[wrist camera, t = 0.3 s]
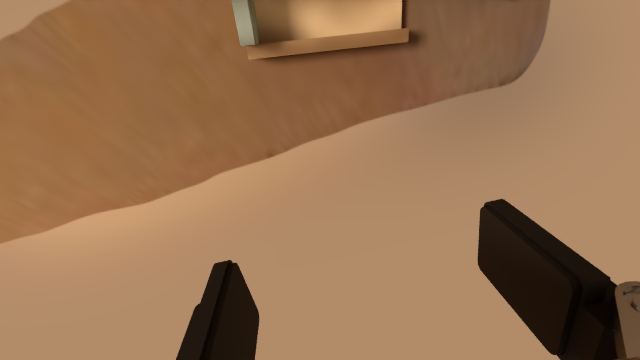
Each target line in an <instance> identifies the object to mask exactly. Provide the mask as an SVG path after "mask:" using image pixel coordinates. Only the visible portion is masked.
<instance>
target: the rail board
mask: <svg viewBox="0 0 640 360" xmlns="http://www.w3.org/2000/svg"><path fill="white" fill-rule="evenodd" d="M232 5H233V10H234V15H235V20H236V25H237V30H238V35H239V40H240V45H241V46H246V49H247V54H248V59H258V58H267V57H276V56H285V55H294V54H303V53H312V52H322V51H331V50H340V49H349V48H358V47H367V46H376V45H385V44H394V43H403V42H408V35H409V28H403V29H401V21H402V0H232Z"/></svg>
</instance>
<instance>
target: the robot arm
mask: <svg viewBox="0 0 640 360" xmlns="http://www.w3.org/2000/svg"><path fill="white" fill-rule="evenodd" d="M479 226H480V227H479V246H478V265H479V268H480V270H481V271H482V272H483V274H484V275H485V276H486V277H487V278H488V280H489V281H490V282H491V283H492V284H493V286H494V287H495V288H496V289H497V290H498V292H499V293H500V294H501V295H502V296H503V298H504V299H505V300H506V301H507V302H508V304H509V305H510V306H511V307H512V308H513V309H514V311H515V312H516V313H517V314H518V316H519V317H520V318H521V319H522V320H523V321H524V323H525V324H526V325H527V326H528V328H529V329H530V330H531V331H532V332H533V334H534V335H535V336H536V337H537V338H538V340H539V341H540V342H541V343H542V345H543V346H544V347H545V348H546V349H547V350H548V351H549V352H550V353H551V354H553V355H557V356H558V357H559V358H560V360H640V282H637V281H633V282H624V283H621V284H619V285H618V286H617V285H616V284H615V283H613V282H612V281H611V280H610V277H609V276H607V275H606V274H604V273H603V272H602V271H600V270H599V269H598V268H596V267H595V266H594V265H592V264H591V263H590V262H588V261H587V260H585V259H584V258H583V257H581V256H580V255H579V254H577V253H576V252H575V251H573V250H572V249H571V248H569V247H568V246H566V245H565V244H564V243H562V242H561V241H560V240H558V239H557V238H556V237H554V236H553V235H552V234H550V233H549V232H547V231H546V230H545V229H543V228H542V227H541V226H539V225H538V224H537V223H535V222H534V221H532V220H531V219H530V218H528V217H527V216H526V215H524V214H523V213H522V212H520V211H519V210H518V209H516V208H515V207H514V206H512V205H511V204H510V203H508V202H507V201H505V200H503V199H499V200H495V201H490V202H486V203H485V204H484V207H482V208H481V210H480V225H479ZM258 327H259V313H258V309H257V307H256V305H255V302H254V300H253V298H252V296H251V293H250V291H249V289H248V287H247V284H246V283H245V280H244V277H243V275H242V273H241V271H240V268H239V266H238V264H237V263H232V261H231V260H228V261H223V262H219V263H215V264H214V266H213V268H212V271H211V274H210V277H209V280H208V282H207V285H206V288H205V291H204V294H203V297H202V300H201V302H200V304H198V305H197V306H196V307H195V309H194V311H193V314H192V317H191V320H190V322H189V325H188V328H187V331H186V333H185V336H184V339H183V342H182V344H181V347H180V350H179V353H178V356H177V358H176V360H255V353H256V343H257V335H258Z"/></svg>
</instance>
